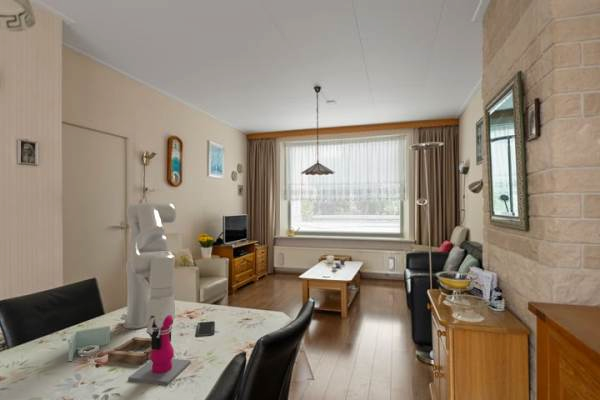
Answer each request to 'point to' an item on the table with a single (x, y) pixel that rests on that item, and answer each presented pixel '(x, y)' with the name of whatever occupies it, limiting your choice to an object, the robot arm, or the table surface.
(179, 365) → the slate tile
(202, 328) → the phone
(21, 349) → the table surface
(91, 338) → the right angle wall
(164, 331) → the pepper mill
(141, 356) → the collar
